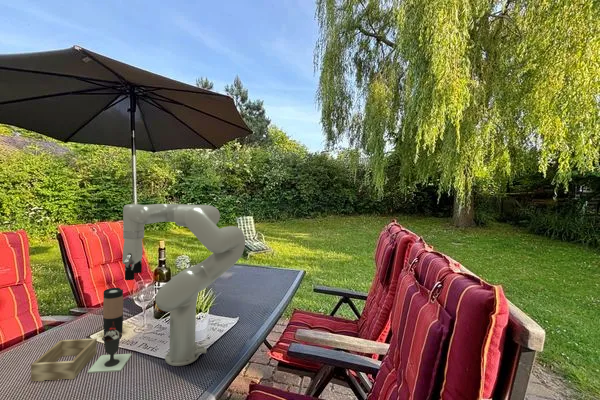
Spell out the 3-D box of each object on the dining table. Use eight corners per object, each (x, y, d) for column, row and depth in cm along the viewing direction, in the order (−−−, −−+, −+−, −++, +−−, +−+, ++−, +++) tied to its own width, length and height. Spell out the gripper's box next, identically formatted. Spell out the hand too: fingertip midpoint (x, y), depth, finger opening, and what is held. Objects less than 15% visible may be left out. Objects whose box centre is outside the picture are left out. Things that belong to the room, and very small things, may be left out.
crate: (96, 353, 126) (96, 338, 126) (73, 379, 109) (73, 362, 109) (60, 355, 124) (60, 340, 123) (31, 382, 107) (31, 364, 107)
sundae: (117, 356, 123) (117, 318, 122) (125, 362, 119) (125, 323, 118) (98, 363, 118) (98, 324, 117) (105, 370, 114) (105, 329, 113)
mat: (131, 355, 125) (131, 353, 125) (120, 371, 114) (120, 369, 114) (101, 356, 123) (101, 355, 123) (87, 373, 113) (87, 371, 113)
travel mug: (100, 339, 137) (100, 293, 136) (106, 331, 144) (106, 288, 143) (120, 337, 139) (120, 292, 138) (125, 329, 146) (125, 287, 145)
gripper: (130, 231, 136) (130, 270, 137) (115, 238, 119) (115, 283, 120) (149, 231, 137) (149, 270, 138) (137, 238, 120) (136, 282, 121)
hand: (133, 276), depth 129 cm, fingers open, 9 cm apart
